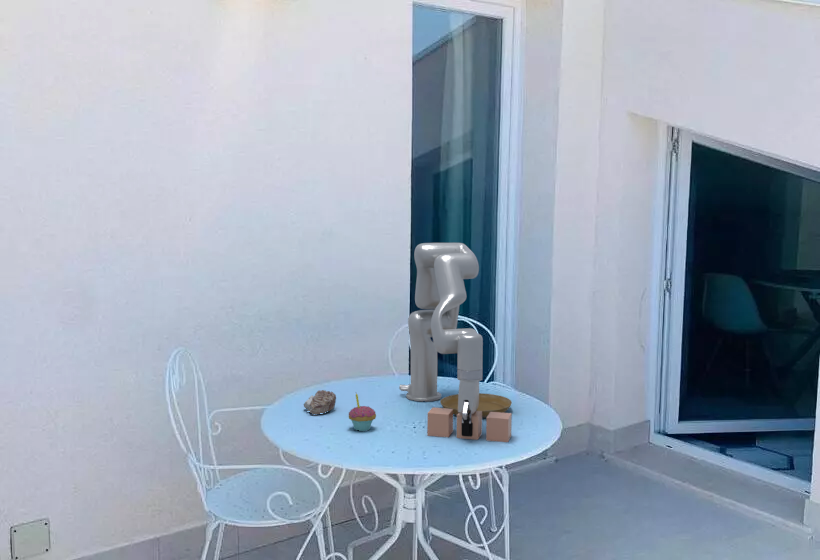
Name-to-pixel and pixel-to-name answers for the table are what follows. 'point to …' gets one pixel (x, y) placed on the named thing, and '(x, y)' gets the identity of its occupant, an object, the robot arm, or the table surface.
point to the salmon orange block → (498, 426)
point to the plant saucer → (480, 403)
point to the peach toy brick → (440, 422)
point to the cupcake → (362, 416)
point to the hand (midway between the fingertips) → (469, 431)
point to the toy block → (476, 425)
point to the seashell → (321, 402)
